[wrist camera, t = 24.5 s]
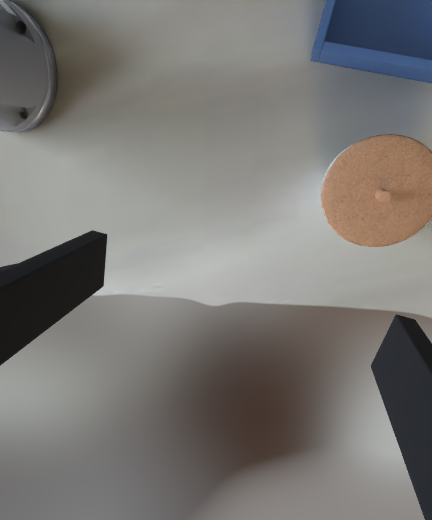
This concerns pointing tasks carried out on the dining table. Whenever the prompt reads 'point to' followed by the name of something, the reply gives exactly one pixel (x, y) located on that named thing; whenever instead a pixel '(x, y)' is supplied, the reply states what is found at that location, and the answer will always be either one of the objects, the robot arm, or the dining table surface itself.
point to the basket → (377, 37)
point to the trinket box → (379, 190)
